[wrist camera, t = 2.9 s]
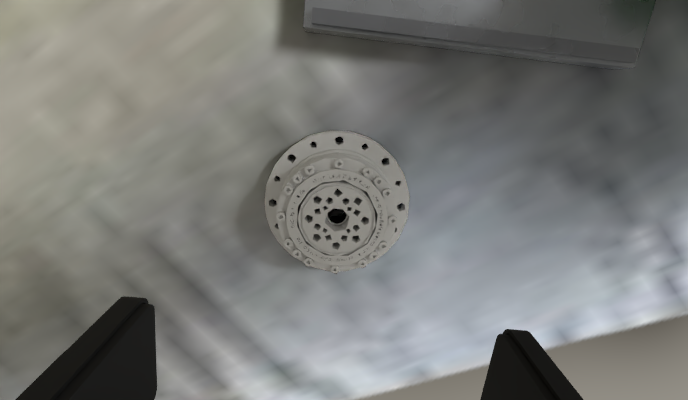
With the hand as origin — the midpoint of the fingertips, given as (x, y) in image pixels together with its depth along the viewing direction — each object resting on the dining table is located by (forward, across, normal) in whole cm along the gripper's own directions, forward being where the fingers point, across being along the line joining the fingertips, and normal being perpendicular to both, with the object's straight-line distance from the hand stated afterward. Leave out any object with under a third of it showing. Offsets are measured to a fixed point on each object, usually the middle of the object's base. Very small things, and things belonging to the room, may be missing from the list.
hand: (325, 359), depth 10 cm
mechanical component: (+18, 0, +1) cm, 18 cm away
